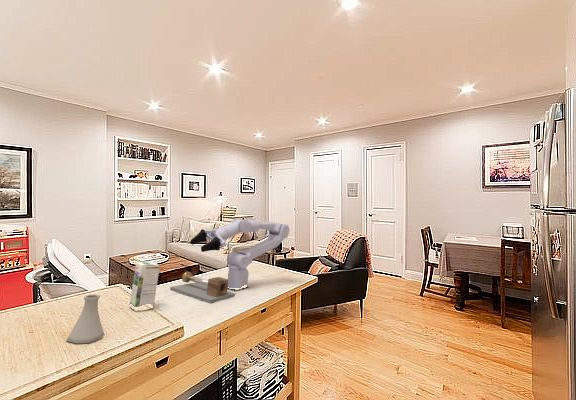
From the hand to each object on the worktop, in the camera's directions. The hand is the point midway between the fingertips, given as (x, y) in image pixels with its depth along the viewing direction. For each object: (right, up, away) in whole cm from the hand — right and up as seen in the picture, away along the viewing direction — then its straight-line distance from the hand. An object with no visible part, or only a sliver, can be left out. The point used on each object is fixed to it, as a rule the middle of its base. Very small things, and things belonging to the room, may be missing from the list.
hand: (196, 245), depth 115 cm
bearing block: (+9, -19, -3) cm, 21 cm away
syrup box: (-10, -17, -23) cm, 30 cm away
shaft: (+1, -17, +2) cm, 17 cm away
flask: (-12, -15, -46) cm, 50 cm away
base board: (+2, -19, +1) cm, 19 cm away
